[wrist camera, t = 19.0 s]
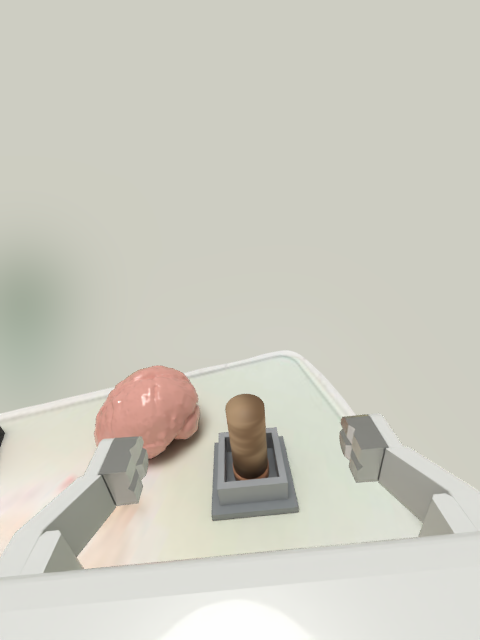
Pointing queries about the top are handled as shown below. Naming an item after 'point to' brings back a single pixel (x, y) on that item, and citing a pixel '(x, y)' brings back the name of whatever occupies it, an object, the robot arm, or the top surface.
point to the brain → (150, 409)
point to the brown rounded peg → (247, 437)
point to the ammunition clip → (1, 435)
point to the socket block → (252, 483)
